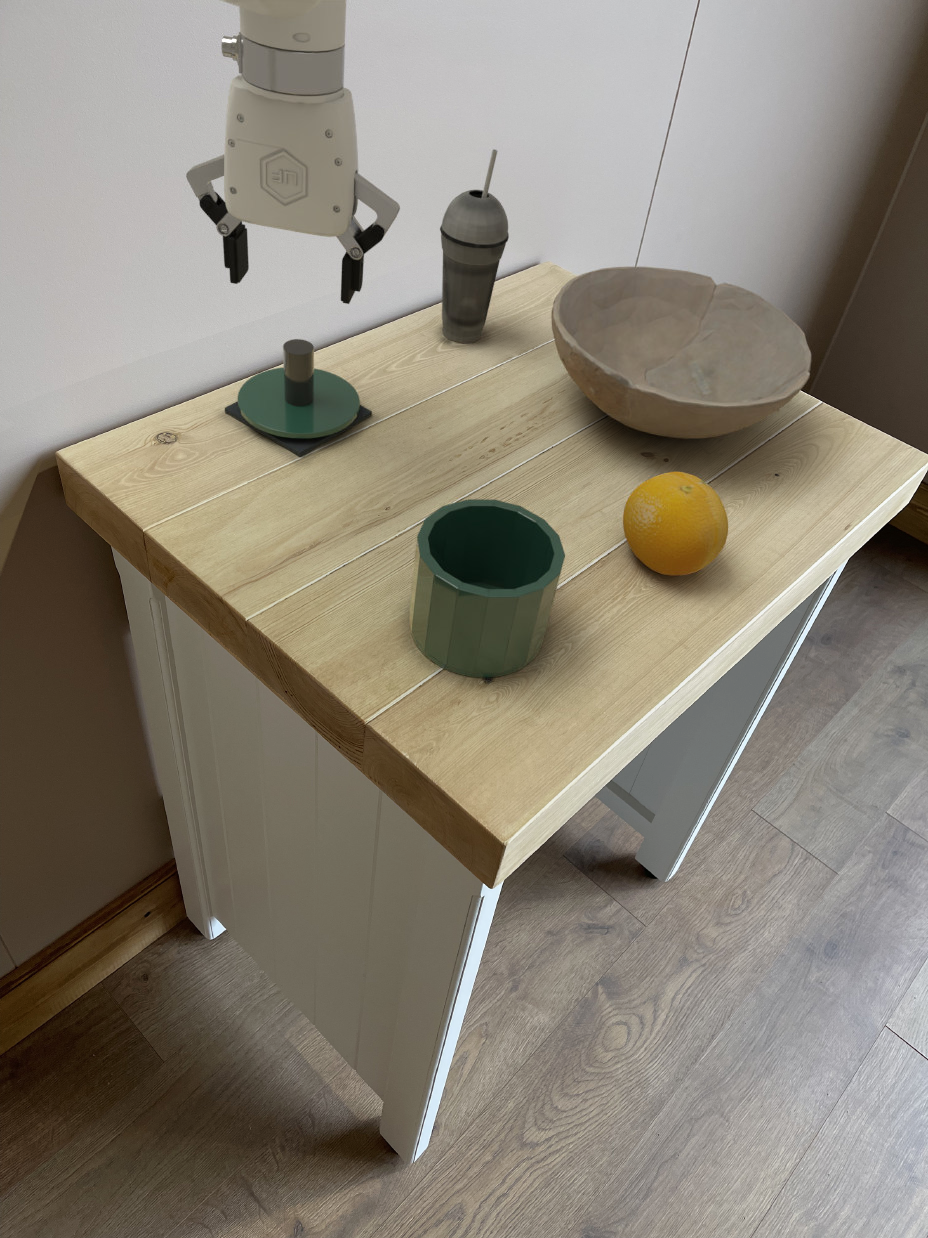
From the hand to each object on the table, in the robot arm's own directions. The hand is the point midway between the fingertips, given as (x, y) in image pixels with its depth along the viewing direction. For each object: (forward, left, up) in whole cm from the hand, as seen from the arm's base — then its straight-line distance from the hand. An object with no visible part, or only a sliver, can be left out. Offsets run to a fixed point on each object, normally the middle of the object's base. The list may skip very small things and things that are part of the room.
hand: (294, 286), depth 80 cm
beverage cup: (+1, +25, -13) cm, 29 cm away
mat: (0, 0, -13) cm, 13 cm away
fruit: (+37, +7, -13) cm, 40 cm away
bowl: (+25, +28, -13) cm, 40 cm away
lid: (0, +1, -12) cm, 12 cm away
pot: (+30, -11, -13) cm, 34 cm away
